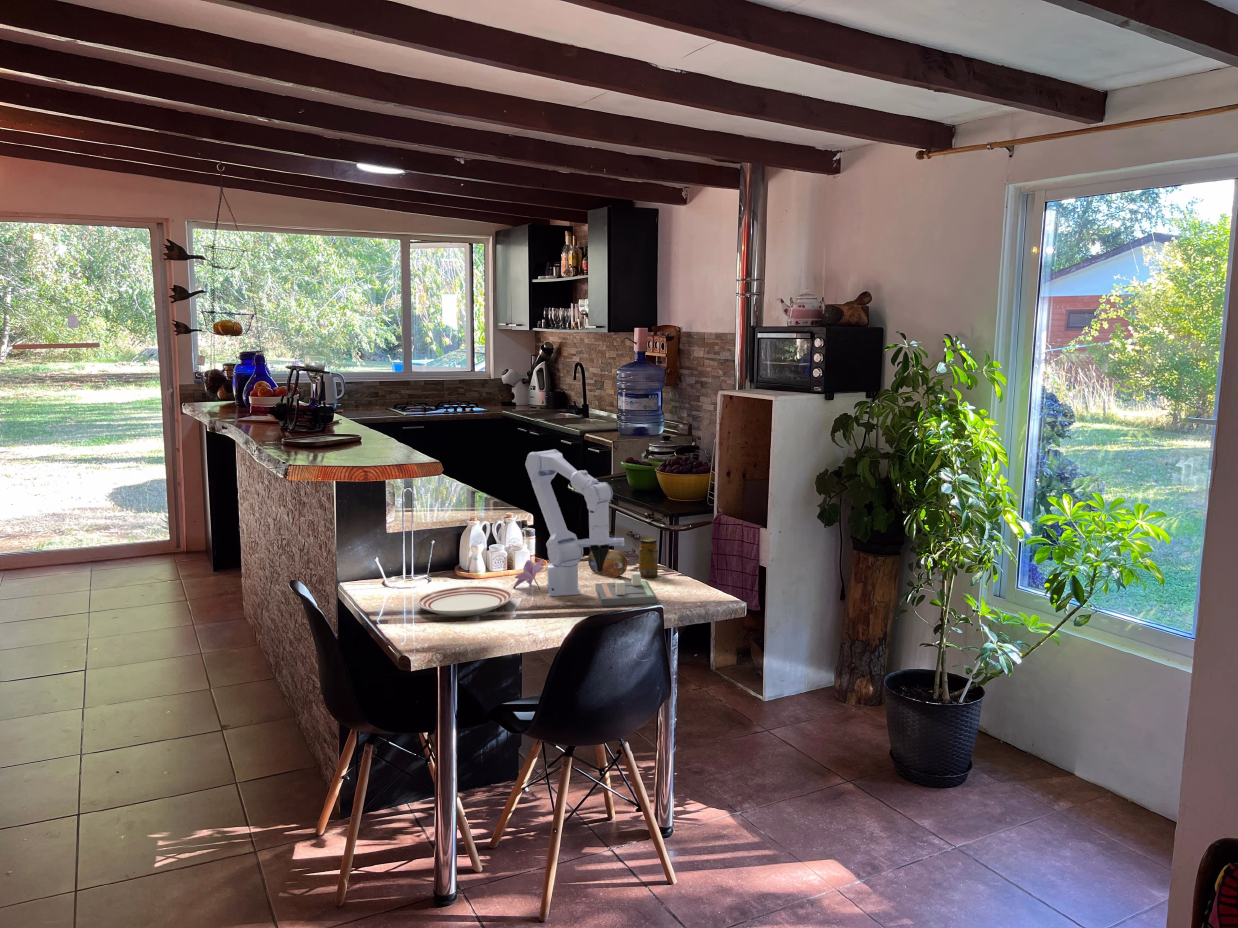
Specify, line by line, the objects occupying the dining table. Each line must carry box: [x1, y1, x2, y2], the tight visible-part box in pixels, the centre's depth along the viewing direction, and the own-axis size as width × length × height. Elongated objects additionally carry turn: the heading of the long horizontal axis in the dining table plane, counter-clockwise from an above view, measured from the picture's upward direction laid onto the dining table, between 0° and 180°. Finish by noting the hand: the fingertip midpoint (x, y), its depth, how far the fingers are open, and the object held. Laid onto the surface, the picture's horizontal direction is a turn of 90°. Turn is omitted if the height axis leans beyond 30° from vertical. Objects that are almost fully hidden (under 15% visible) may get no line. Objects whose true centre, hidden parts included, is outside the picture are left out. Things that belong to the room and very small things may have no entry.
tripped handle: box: [614, 579, 626, 595], centre depth 271 cm, size 2×3×4 cm
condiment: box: [638, 537, 668, 581], centre depth 298 cm, size 7×8×12 cm
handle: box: [630, 571, 642, 586], centre depth 280 cm, size 2×3×4 cm
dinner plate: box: [416, 585, 514, 617], centre depth 267 cm, size 27×27×3 cm
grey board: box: [594, 580, 657, 607], centre depth 276 cm, size 16×17×2 cm
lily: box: [513, 558, 546, 591], centre depth 286 cm, size 12×12×10 cm
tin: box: [587, 549, 628, 578], centre depth 301 cm, size 15×3×8 cm, turn 50°
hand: (599, 570), depth 269 cm, fingers closed
